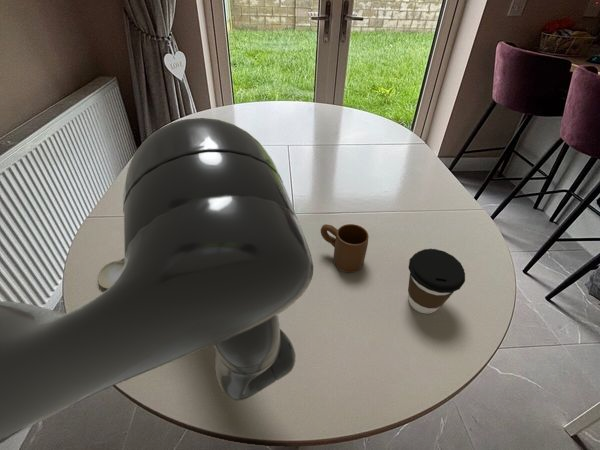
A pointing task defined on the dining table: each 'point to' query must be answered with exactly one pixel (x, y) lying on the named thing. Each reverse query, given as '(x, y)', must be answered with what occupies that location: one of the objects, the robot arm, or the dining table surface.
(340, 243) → the mug
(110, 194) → the dining table surface
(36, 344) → the robot arm
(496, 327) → the dining table surface
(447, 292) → the coffee cup
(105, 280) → the seashell
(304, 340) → the dining table surface
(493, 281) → the dining table surface
